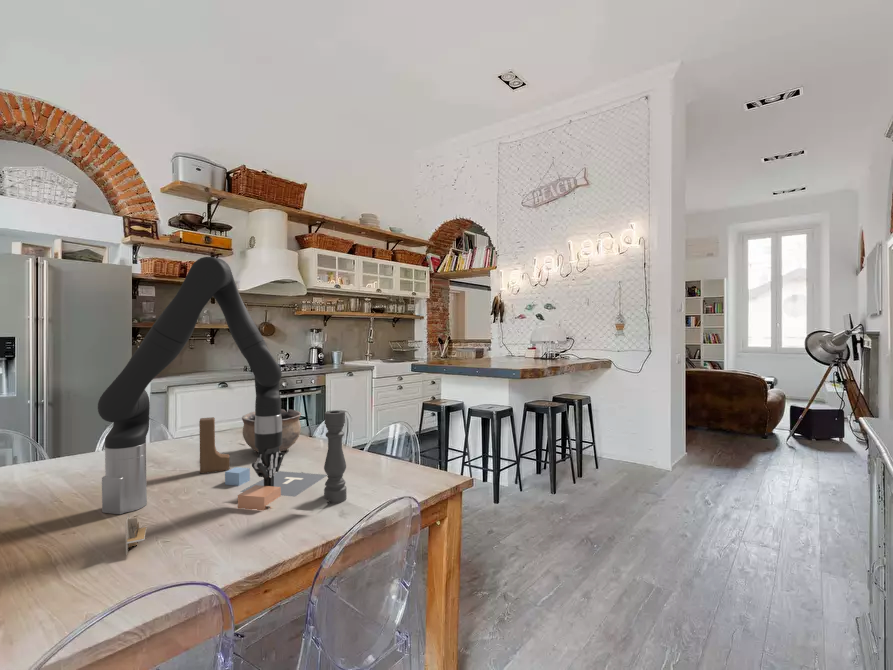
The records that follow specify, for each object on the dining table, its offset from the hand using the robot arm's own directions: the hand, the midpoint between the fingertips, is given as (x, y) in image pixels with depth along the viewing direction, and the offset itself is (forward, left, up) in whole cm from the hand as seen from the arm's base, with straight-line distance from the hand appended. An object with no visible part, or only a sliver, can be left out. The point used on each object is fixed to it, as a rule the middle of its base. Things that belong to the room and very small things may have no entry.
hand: (269, 489), depth 136 cm
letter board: (+9, 0, -2) cm, 9 cm away
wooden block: (+18, +33, -2) cm, 38 cm away
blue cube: (+6, +15, -2) cm, 16 cm away
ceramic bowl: (+44, +28, -2) cm, 52 cm away
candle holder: (+2, -20, -2) cm, 20 cm away
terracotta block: (-6, -1, -2) cm, 6 cm away
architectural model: (-35, +11, -3) cm, 37 cm away
